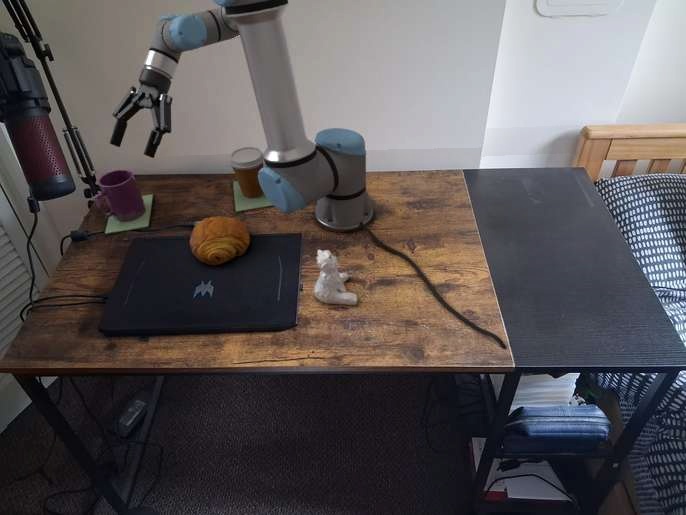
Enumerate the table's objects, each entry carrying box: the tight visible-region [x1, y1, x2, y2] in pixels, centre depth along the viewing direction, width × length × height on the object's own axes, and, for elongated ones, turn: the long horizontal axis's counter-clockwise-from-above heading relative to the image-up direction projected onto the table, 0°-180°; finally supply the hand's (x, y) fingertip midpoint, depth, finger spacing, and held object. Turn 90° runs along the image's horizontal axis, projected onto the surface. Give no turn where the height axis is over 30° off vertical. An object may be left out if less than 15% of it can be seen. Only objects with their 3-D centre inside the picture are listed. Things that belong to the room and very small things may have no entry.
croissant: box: [189, 215, 251, 266], centre depth 111 cm, size 14×16×8 cm
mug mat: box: [104, 193, 154, 235], centre depth 126 cm, size 16×11×1 cm
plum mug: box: [93, 169, 146, 222], centre depth 121 cm, size 12×9×11 cm
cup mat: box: [232, 180, 275, 213], centre depth 131 cm, size 16×11×1 cm
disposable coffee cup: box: [228, 146, 265, 198], centre depth 127 cm, size 10×10×12 cm
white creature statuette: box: [313, 249, 358, 306], centre depth 95 cm, size 10×9×12 cm
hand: (131, 150), depth 120 cm, fingers open, 13 cm apart
